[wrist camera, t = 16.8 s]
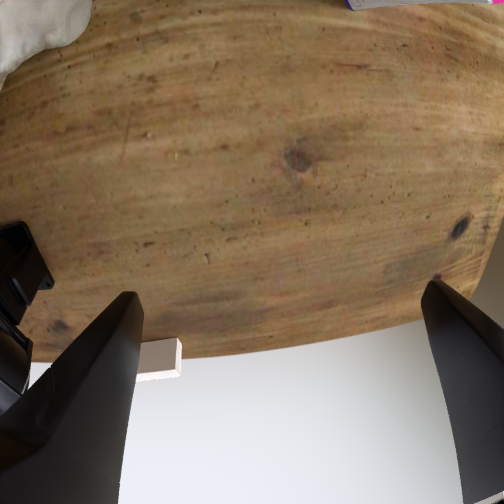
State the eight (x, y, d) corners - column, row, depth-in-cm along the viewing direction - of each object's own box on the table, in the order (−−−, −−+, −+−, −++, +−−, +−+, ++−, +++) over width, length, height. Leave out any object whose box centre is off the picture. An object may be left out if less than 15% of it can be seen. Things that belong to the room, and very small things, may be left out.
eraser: (131, 343, 29) (126, 375, 26) (177, 336, 28) (175, 369, 25) (137, 351, 29) (132, 382, 26) (181, 344, 29) (180, 376, 26)
